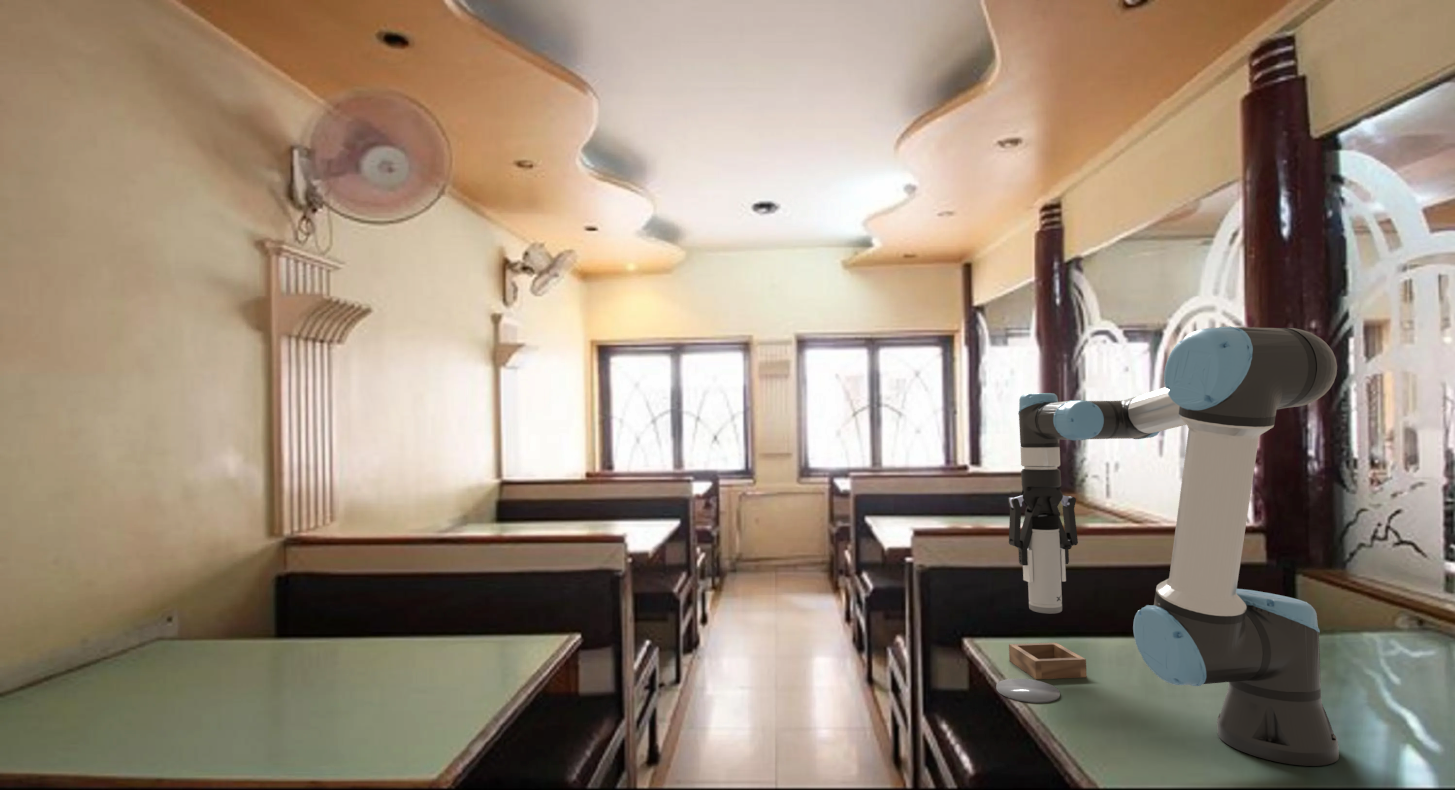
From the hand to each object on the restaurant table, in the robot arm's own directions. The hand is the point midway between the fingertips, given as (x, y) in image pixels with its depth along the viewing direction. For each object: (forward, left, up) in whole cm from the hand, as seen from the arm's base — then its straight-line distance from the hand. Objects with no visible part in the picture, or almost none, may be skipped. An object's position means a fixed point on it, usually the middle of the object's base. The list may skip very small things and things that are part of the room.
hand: (1044, 580), depth 152 cm
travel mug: (0, 0, -6) cm, 6 cm away
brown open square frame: (0, 0, -18) cm, 18 cm away
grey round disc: (-12, +10, -18) cm, 24 cm away
